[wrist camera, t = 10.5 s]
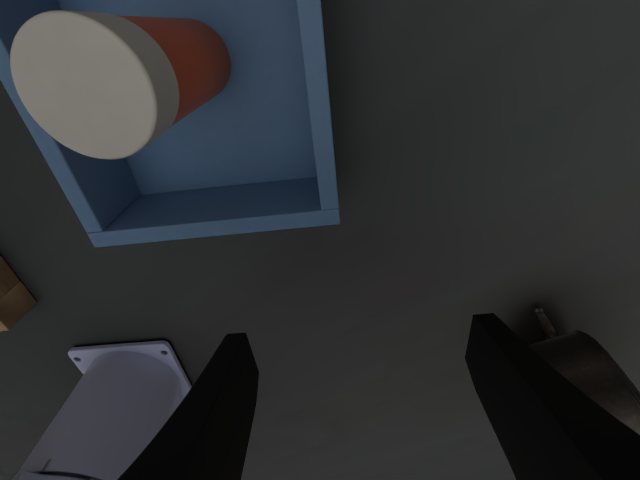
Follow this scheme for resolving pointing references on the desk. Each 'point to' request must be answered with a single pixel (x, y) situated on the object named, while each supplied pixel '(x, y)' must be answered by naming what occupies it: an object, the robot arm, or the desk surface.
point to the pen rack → (12, 298)
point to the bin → (210, 132)
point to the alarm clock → (590, 371)
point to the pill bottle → (114, 76)
